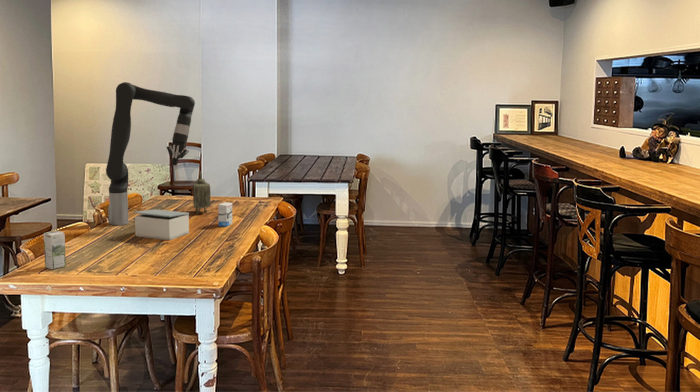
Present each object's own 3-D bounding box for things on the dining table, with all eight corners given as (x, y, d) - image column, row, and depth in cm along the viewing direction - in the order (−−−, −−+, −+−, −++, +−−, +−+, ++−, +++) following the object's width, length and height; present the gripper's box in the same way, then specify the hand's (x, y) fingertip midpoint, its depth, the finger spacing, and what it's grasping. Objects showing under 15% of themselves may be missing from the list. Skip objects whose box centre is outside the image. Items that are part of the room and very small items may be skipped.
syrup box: (58, 264, 252) (56, 230, 250) (66, 266, 249) (64, 232, 246) (45, 267, 248) (42, 232, 245) (53, 270, 244) (50, 234, 242)
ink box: (226, 227, 327) (226, 205, 325) (218, 226, 328) (217, 204, 326) (232, 223, 335) (232, 202, 333) (224, 223, 336) (224, 202, 334)
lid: (133, 213, 300) (133, 212, 300) (155, 210, 315) (155, 209, 315) (169, 217, 293) (169, 215, 293) (189, 214, 309) (189, 212, 309)
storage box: (135, 236, 302) (134, 216, 301) (156, 229, 317) (155, 210, 315) (169, 240, 296) (169, 220, 294) (189, 233, 310) (188, 214, 309)
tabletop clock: (193, 210, 368) (192, 169, 364) (208, 209, 371) (208, 169, 367) (194, 215, 355) (194, 172, 350) (210, 214, 357) (210, 172, 353)
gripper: (166, 130, 323) (159, 162, 322) (187, 133, 319) (180, 166, 318) (174, 133, 330) (167, 164, 329) (195, 136, 326) (188, 168, 325)
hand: (174, 165), depth 324 cm, fingers closed
